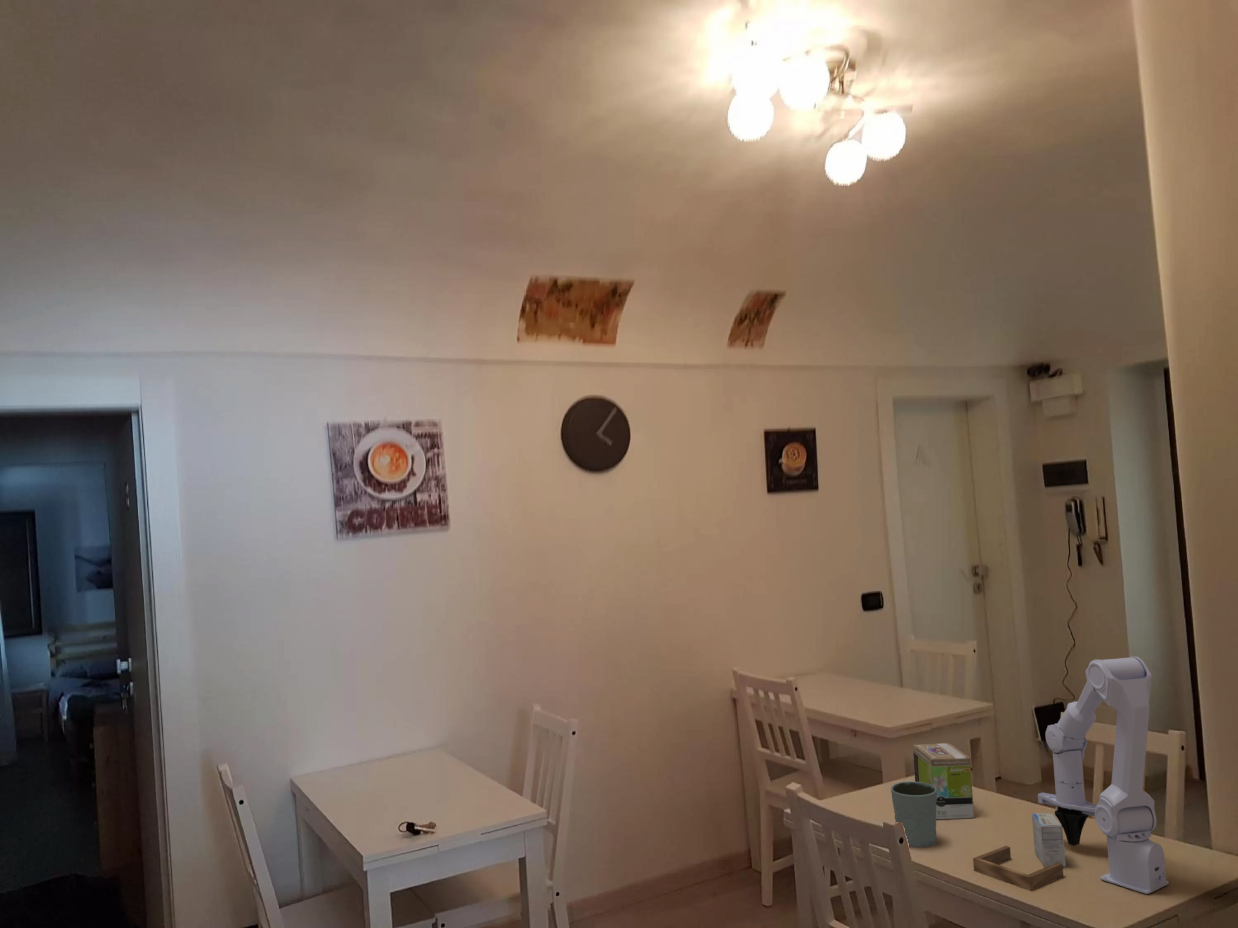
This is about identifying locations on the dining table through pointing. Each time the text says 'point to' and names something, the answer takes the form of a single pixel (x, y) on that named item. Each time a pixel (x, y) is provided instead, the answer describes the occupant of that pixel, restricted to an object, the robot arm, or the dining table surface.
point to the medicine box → (1048, 839)
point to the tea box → (946, 778)
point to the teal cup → (916, 811)
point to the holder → (1031, 881)
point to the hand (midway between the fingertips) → (1074, 843)
